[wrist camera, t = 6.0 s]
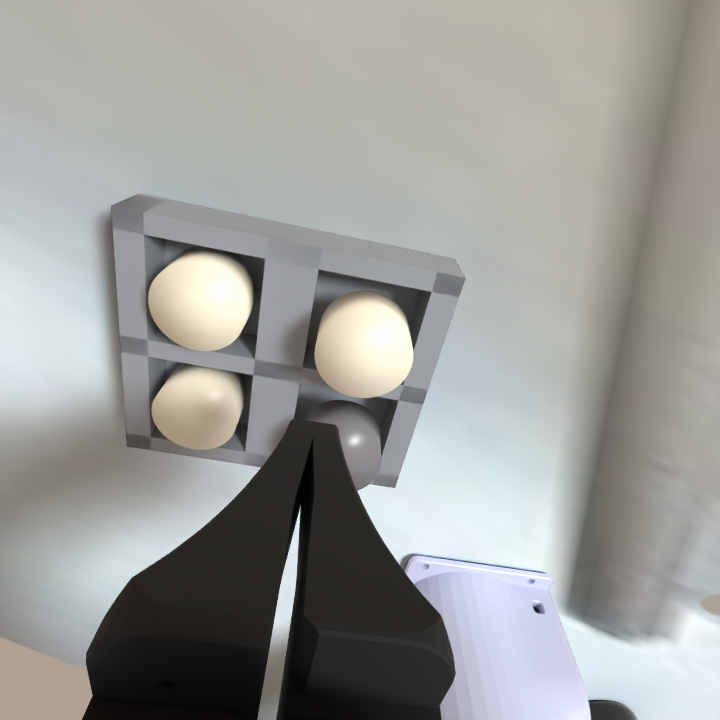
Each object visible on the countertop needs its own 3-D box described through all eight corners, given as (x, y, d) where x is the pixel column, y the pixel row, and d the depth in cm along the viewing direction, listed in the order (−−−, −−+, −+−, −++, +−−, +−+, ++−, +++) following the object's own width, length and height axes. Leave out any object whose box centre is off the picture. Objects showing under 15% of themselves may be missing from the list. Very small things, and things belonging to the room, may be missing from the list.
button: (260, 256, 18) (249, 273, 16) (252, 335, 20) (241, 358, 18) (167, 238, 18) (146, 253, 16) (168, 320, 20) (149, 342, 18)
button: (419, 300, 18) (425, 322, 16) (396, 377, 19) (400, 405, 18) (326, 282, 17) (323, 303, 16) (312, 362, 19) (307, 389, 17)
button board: (455, 259, 19) (465, 278, 17) (392, 456, 25) (394, 487, 23) (138, 193, 18) (111, 205, 16) (147, 416, 24) (127, 446, 22)
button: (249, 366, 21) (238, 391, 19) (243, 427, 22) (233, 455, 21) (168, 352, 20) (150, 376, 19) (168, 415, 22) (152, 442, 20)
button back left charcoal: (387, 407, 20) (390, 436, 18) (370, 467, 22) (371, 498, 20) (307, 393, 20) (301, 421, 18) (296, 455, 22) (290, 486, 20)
